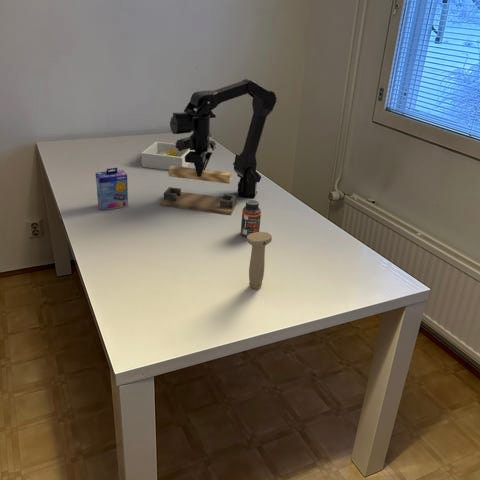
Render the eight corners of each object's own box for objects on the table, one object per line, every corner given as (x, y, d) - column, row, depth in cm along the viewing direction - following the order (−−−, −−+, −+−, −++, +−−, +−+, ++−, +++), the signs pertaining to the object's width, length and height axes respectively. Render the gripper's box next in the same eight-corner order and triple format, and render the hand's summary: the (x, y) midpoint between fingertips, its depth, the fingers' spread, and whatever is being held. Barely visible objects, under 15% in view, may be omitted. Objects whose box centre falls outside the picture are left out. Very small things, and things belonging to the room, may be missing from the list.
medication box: (155, 164, 213) (155, 156, 211) (151, 162, 215) (151, 154, 213) (177, 159, 221) (177, 150, 219) (173, 156, 222) (173, 148, 220)
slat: (231, 180, 173) (231, 172, 172) (229, 183, 171) (229, 175, 169) (171, 173, 177) (171, 165, 175) (169, 176, 174) (168, 168, 173)
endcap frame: (238, 201, 181) (238, 192, 180) (231, 214, 171) (231, 205, 169) (170, 192, 185) (170, 184, 184) (160, 205, 175) (159, 195, 173)
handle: (240, 284, 131) (243, 234, 124) (260, 279, 134) (264, 230, 127) (249, 294, 128) (253, 243, 121) (270, 288, 131) (275, 238, 124)
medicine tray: (194, 158, 223) (194, 146, 220) (182, 171, 207) (182, 157, 204) (156, 154, 225) (156, 141, 222) (141, 166, 209) (141, 153, 207)
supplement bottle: (246, 239, 155) (248, 207, 149) (237, 232, 159) (239, 199, 154) (262, 236, 157) (265, 204, 152) (253, 229, 162) (255, 197, 157)
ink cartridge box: (101, 211, 168) (98, 171, 161) (97, 205, 172) (93, 165, 165) (129, 206, 172) (127, 167, 165) (124, 201, 176) (122, 162, 170)
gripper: (186, 122, 175) (186, 164, 182) (169, 135, 159) (170, 181, 166) (216, 125, 174) (215, 167, 181) (202, 139, 157) (202, 185, 164)
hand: (200, 174), depth 173 cm, fingers closed on slat, 3 cm apart
